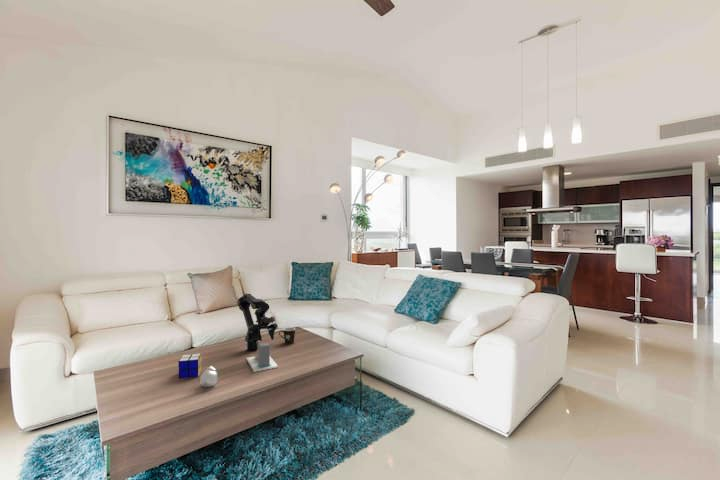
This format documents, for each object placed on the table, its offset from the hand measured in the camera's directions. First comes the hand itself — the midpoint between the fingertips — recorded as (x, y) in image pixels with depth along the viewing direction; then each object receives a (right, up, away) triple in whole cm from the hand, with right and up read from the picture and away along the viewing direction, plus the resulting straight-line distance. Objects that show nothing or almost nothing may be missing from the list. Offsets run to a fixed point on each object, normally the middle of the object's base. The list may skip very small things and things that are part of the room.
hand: (267, 340), depth 218 cm
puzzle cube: (-38, -13, -21) cm, 46 cm away
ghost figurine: (-21, -14, -36) cm, 44 cm away
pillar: (+1, -12, -10) cm, 16 cm away
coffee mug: (+6, -12, +35) cm, 37 cm away
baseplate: (-2, -13, -5) cm, 14 cm away
